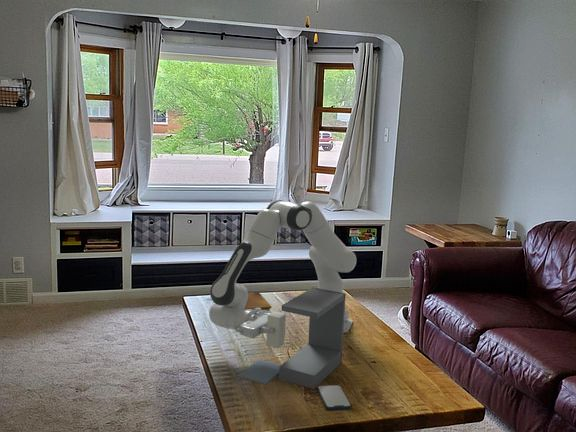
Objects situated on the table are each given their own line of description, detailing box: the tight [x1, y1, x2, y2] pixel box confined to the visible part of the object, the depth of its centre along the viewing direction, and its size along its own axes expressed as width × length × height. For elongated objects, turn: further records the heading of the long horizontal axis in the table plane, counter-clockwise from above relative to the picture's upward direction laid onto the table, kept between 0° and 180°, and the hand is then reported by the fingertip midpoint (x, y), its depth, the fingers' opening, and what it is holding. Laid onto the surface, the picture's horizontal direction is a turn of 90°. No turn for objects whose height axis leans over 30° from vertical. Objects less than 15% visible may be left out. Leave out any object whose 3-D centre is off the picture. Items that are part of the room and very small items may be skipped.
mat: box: [236, 358, 281, 385], centre depth 209 cm, size 16×12×1 cm
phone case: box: [316, 384, 352, 412], centre depth 191 cm, size 9×2×16 cm
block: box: [266, 310, 287, 349], centre depth 212 cm, size 5×5×12 cm
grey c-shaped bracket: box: [278, 287, 346, 390], centre depth 209 cm, size 26×14×28 cm, turn 153°
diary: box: [245, 291, 272, 312], centre depth 275 cm, size 23×19×6 cm
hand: (278, 328), depth 211 cm, fingers closed on block, 5 cm apart
